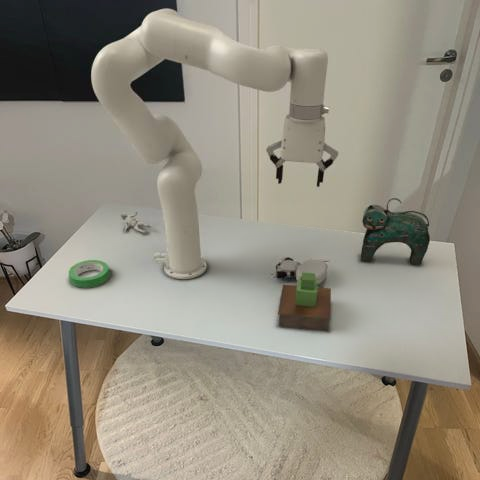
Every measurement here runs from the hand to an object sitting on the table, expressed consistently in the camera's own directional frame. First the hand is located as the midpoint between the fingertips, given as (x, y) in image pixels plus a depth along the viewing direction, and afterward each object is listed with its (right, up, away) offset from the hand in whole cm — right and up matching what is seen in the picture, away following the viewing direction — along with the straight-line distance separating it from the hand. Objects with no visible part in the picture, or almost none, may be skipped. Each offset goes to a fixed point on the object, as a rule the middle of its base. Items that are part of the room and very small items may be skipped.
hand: (299, 183), depth 116 cm
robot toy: (+2, -23, +17) cm, 28 cm away
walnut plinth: (+2, -33, +3) cm, 33 cm away
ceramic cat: (+30, -16, +24) cm, 42 cm away
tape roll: (-58, -22, +17) cm, 65 cm away
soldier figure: (-50, -4, +41) cm, 65 cm away
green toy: (+2, -30, 0) cm, 30 cm away
